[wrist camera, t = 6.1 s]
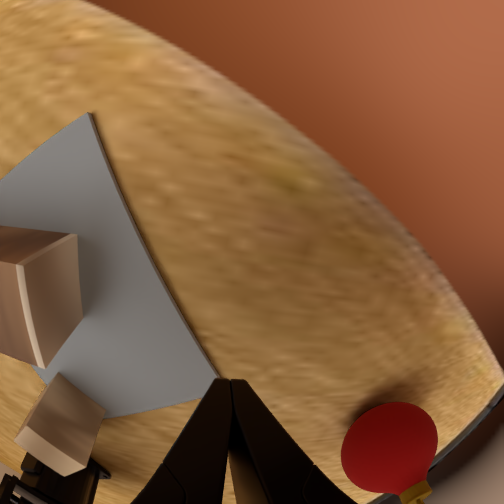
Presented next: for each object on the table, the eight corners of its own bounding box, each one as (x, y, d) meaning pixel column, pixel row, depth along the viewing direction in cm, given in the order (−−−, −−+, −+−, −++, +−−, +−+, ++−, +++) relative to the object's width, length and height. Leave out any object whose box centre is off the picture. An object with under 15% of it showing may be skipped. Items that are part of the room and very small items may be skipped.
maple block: (106, 409, 15) (86, 467, 10) (82, 427, 15) (64, 476, 11) (58, 372, 14) (26, 425, 9) (40, 393, 14) (13, 440, 9)
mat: (225, 385, 15) (226, 390, 15) (81, 418, 16) (79, 422, 15) (90, 113, 10) (87, 112, 10) (-38, 224, 11) (-41, 225, 10)
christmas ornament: (418, 406, 19) (473, 486, 9) (349, 451, 19) (386, 539, 10) (398, 366, 17) (476, 470, 7) (313, 423, 17) (354, 541, 8)
